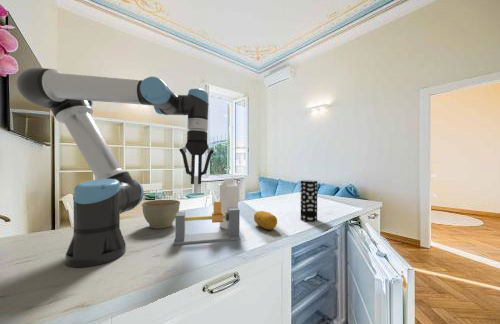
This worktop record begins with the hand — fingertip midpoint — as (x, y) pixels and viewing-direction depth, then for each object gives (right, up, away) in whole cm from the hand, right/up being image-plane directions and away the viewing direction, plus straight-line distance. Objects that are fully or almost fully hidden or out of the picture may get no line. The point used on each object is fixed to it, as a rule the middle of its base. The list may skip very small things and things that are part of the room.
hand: (195, 192), depth 81 cm
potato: (+28, -18, +15) cm, 36 cm away
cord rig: (+4, -18, +1) cm, 18 cm away
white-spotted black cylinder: (+51, -18, +29) cm, 61 cm away
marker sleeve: (+8, -11, +2) cm, 14 cm away
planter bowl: (-20, -18, +17) cm, 32 cm away
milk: (+11, -18, +16) cm, 26 cm away
